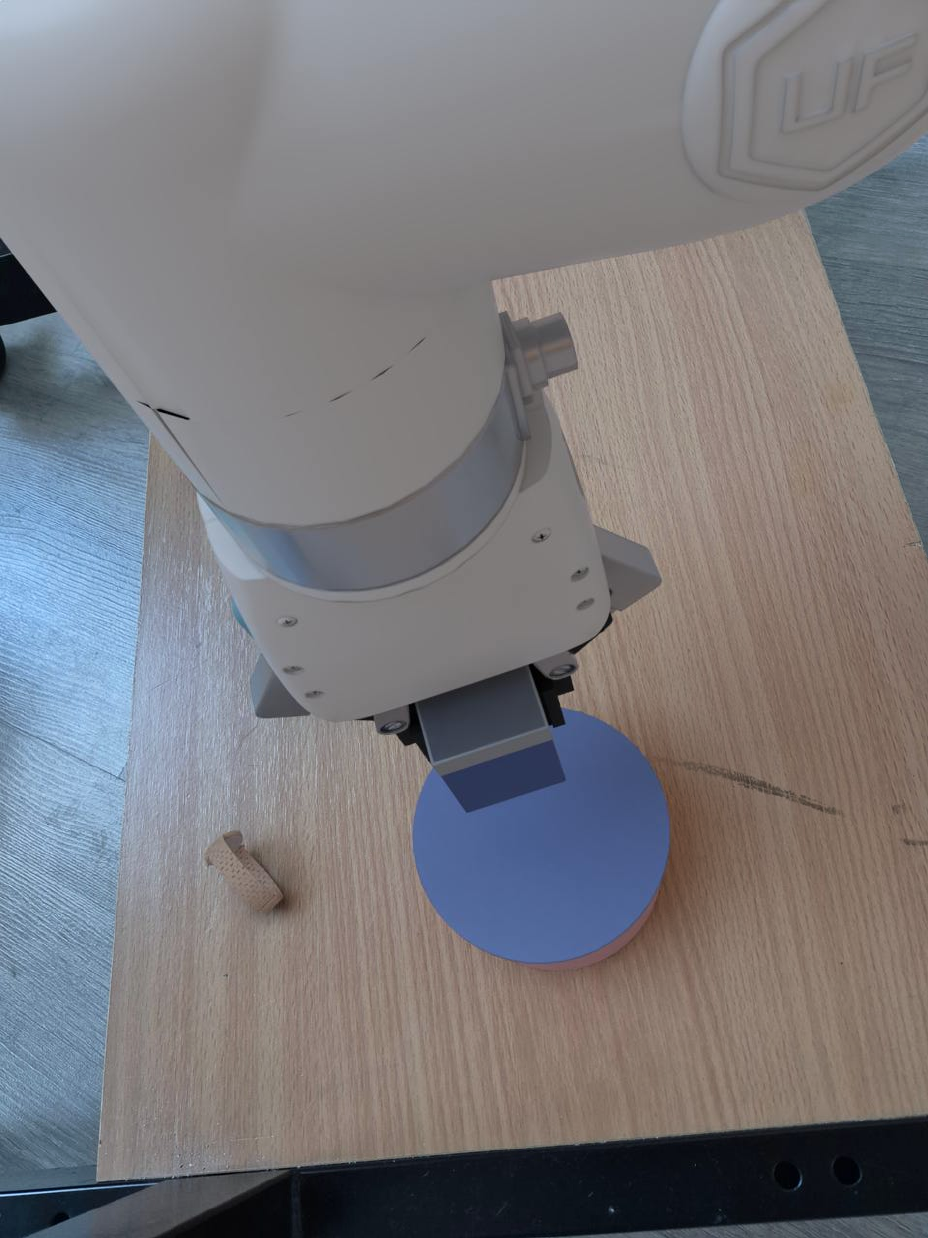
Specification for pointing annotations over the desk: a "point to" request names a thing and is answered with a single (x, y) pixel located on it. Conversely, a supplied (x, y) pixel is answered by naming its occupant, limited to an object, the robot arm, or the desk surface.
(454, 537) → the robot arm
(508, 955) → the blue round puck
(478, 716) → the grey and blue block
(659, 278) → the desk surface
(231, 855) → the tan curved piece
